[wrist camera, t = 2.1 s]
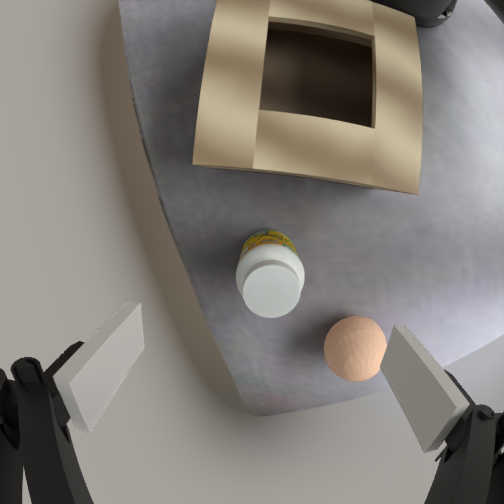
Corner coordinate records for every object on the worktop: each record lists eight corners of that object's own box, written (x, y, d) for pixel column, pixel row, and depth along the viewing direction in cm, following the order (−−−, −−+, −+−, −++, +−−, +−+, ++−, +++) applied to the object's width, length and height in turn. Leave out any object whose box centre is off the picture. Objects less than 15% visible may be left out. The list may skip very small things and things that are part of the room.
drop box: (232, 28, 22) (221, -18, 13) (379, 51, 21) (414, 17, 13) (215, 168, 26) (192, 164, 17) (374, 188, 26) (417, 194, 17)
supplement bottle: (233, 267, 28) (219, 310, 19) (254, 219, 27) (249, 241, 18) (282, 287, 29) (289, 336, 19) (304, 241, 27) (323, 273, 18)
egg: (307, 329, 30) (318, 373, 22) (355, 293, 29) (380, 329, 21) (337, 362, 31) (353, 406, 23) (381, 330, 30) (407, 368, 22)
